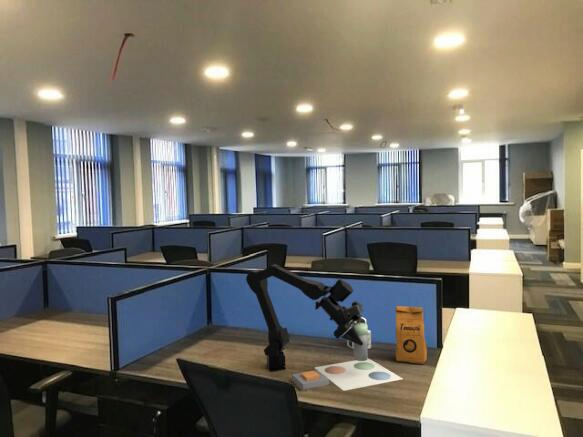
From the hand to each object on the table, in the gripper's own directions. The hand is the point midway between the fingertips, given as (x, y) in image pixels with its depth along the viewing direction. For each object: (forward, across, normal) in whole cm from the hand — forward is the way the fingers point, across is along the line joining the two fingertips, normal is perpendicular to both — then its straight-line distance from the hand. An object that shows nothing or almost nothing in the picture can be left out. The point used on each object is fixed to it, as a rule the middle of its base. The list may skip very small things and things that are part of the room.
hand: (364, 342), depth 172 cm
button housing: (-3, -10, +22) cm, 24 cm away
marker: (+3, 0, +5) cm, 6 cm away
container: (+2, +35, +18) cm, 39 cm away
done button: (-4, -10, +21) cm, 24 cm away
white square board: (+7, +3, +12) cm, 14 cm away
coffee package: (+19, +25, 0) cm, 31 cm away
